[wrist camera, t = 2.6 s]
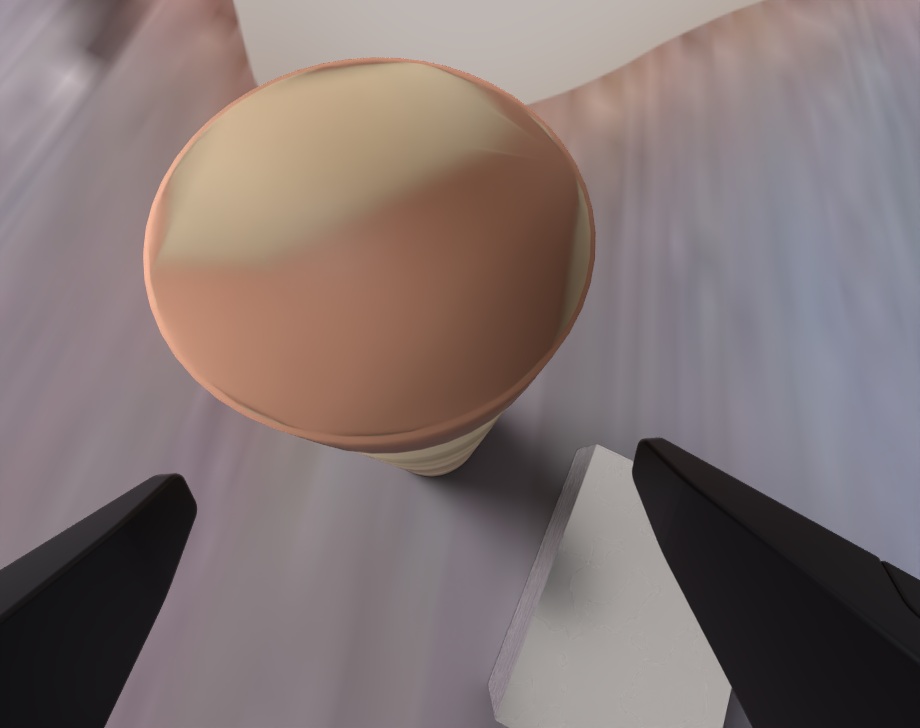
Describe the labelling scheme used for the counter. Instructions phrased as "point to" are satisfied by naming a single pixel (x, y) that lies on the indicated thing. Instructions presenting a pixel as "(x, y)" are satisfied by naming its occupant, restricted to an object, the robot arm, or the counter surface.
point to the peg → (371, 257)
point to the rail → (605, 620)
